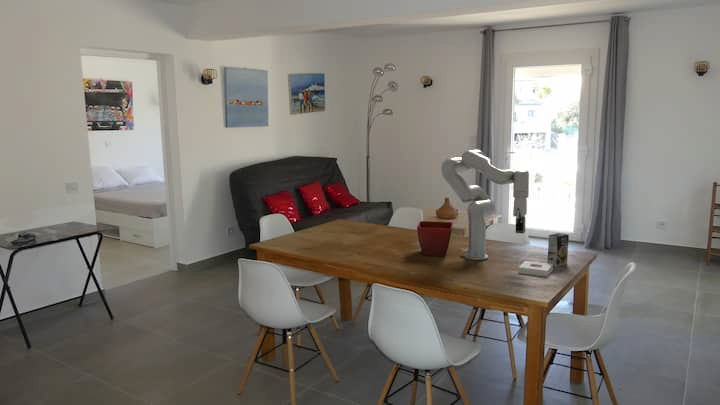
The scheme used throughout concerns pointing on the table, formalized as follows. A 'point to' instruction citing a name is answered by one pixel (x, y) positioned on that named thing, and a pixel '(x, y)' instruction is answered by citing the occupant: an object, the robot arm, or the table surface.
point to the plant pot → (434, 237)
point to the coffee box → (558, 249)
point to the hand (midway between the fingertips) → (520, 229)
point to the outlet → (535, 268)
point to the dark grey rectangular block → (523, 226)
